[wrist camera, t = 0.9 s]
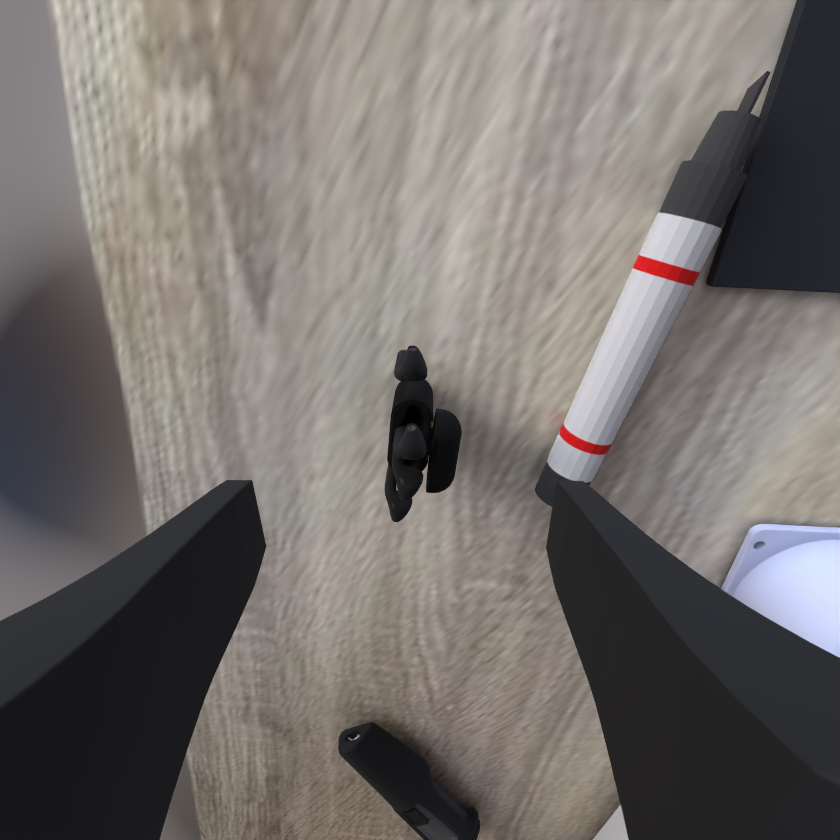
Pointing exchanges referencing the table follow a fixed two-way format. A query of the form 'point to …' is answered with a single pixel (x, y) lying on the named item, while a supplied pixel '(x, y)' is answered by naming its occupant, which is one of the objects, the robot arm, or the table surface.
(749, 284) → the coaster
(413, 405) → the wireless earbuds
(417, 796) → the electric trimmer
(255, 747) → the table surface
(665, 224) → the marker
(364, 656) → the table surface
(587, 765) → the table surface
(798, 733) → the robot arm
